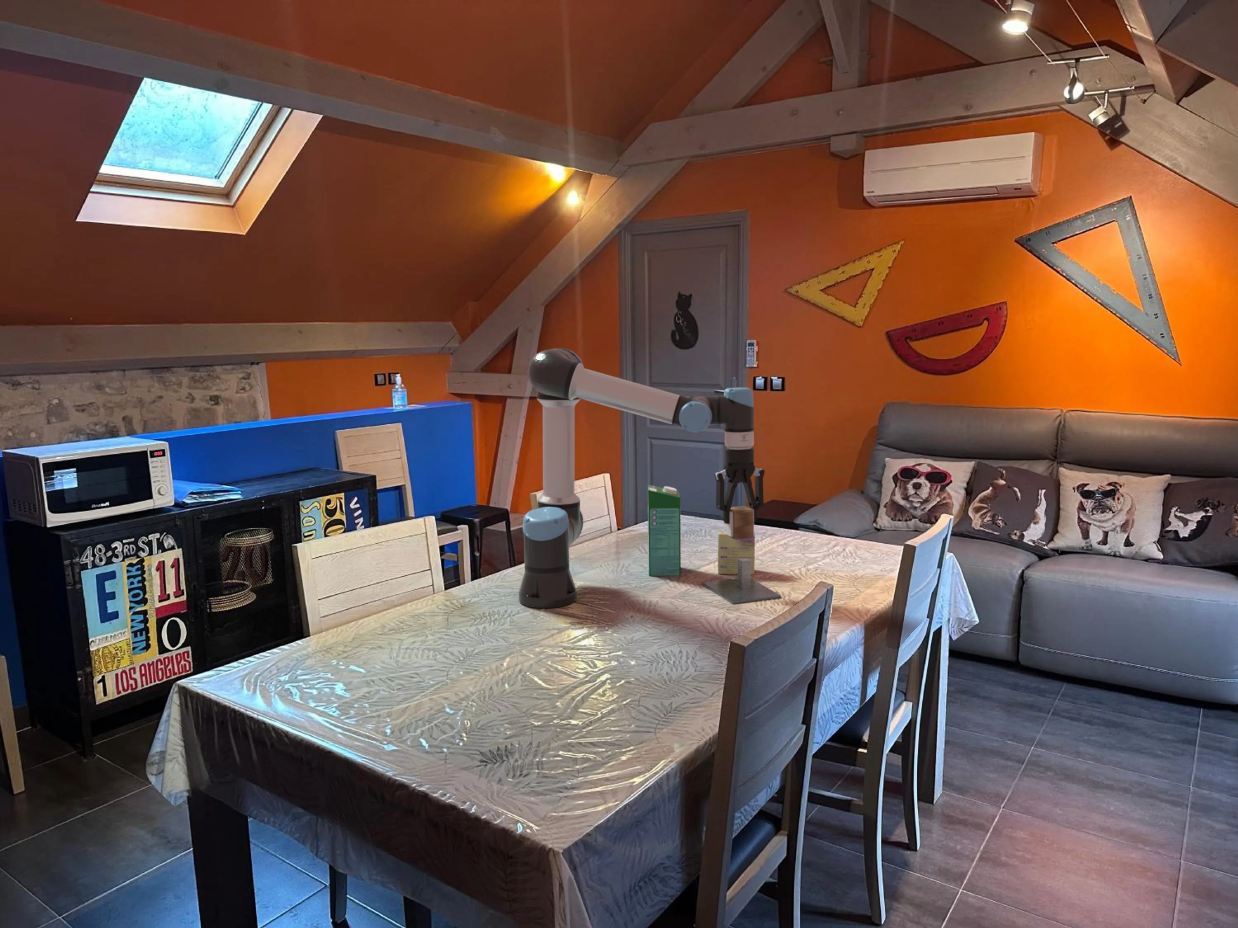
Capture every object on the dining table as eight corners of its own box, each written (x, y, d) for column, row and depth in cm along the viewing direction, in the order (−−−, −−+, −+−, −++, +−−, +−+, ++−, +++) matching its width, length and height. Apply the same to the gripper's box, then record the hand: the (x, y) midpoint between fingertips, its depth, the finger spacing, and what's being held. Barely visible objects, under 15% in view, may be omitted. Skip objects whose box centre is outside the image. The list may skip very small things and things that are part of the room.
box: (753, 569, 250) (753, 529, 248) (754, 574, 244) (755, 534, 242) (717, 568, 251) (717, 529, 249) (717, 574, 245) (718, 534, 243)
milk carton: (680, 575, 244) (680, 489, 240) (649, 575, 244) (648, 489, 240) (679, 566, 253) (678, 483, 249) (648, 567, 253) (647, 483, 249)
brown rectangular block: (735, 539, 224) (734, 511, 222) (727, 535, 229) (726, 507, 227) (753, 537, 225) (753, 509, 224) (744, 533, 230) (744, 505, 229)
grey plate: (732, 603, 219) (732, 573, 217) (703, 584, 235) (703, 556, 234) (780, 597, 223) (781, 567, 222) (748, 579, 240) (749, 551, 239)
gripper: (712, 451, 217) (714, 540, 221) (777, 446, 222) (778, 533, 226) (701, 447, 224) (702, 534, 228) (764, 443, 229) (764, 528, 233)
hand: (740, 534), depth 227 cm, fingers closed on brown rectangular block, 5 cm apart
